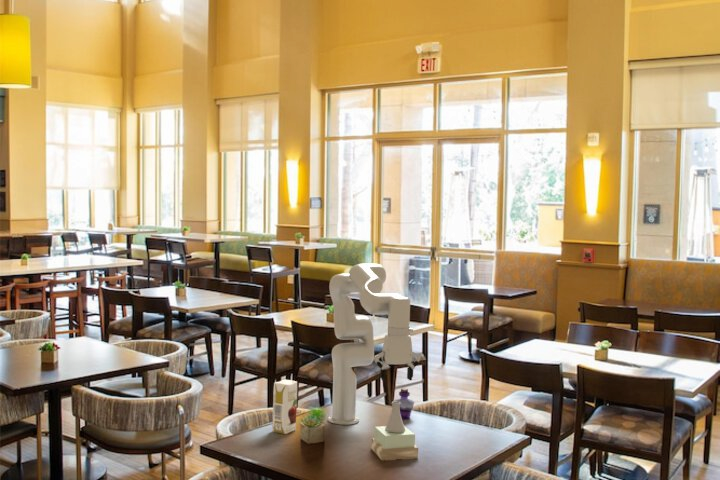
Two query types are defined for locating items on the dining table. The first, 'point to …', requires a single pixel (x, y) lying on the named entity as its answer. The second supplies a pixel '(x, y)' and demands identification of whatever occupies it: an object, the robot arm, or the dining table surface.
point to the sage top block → (394, 438)
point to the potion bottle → (405, 404)
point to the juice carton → (284, 406)
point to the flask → (395, 419)
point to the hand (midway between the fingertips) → (396, 379)
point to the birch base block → (394, 452)
